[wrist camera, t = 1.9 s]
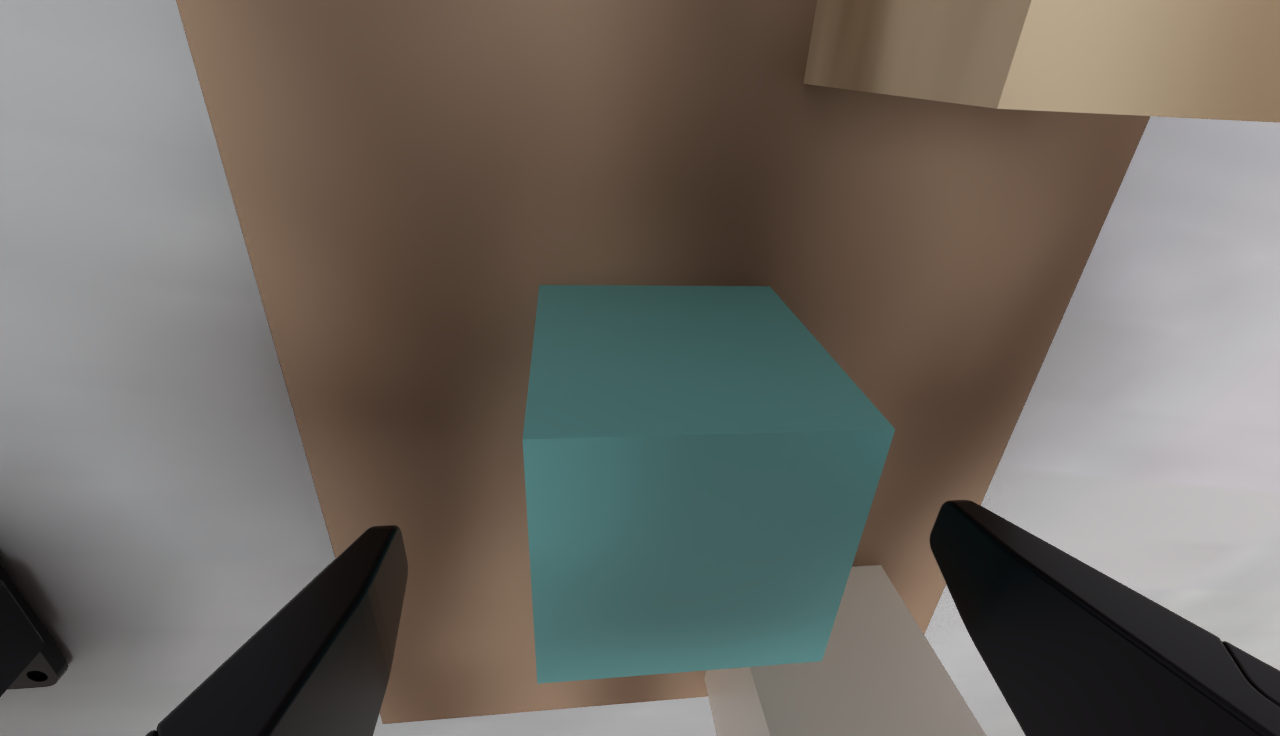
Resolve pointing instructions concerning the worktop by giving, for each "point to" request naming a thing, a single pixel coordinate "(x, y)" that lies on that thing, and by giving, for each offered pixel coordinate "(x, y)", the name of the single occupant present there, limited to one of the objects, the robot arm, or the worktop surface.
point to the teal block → (689, 481)
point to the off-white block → (849, 679)
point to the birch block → (1058, 54)
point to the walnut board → (616, 264)
